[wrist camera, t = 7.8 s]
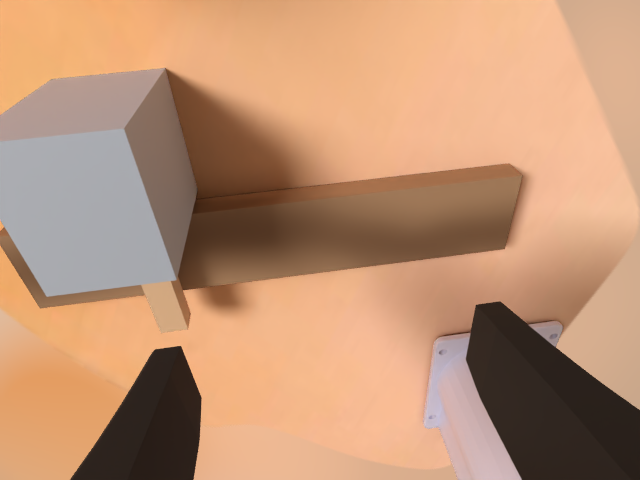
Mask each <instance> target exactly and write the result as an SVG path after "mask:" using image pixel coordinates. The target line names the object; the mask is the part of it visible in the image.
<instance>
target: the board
mask: <svg viewBox="0 0 640 480" xmlns="http://www.w3.org/2000/svg"><path fill="white" fill-rule="evenodd" d="M521 180H522V175H521V174H520V173H519V172H518V171H517V170H516V169H515V168H514V167H512V166H511V165H510V164H501V165H493V166H484V167H475V168H467V169H458V170H449V171H440V172H432V173H423V174H414V175H406V176H397V177H388V178H380V179H371V180H362V181H353V182H345V183H336V184H327V185H319V186H310V187H301V188H293V189H284V190H275V191H266V192H258V193H249V194H240V195H232V196H223V197H214V198H205V199H197V200H195V203H194V208H193V212H192V216H191V221H190V225H189V229H188V234H187V238H186V242H185V247H184V251H183V255H182V260H181V264H180V268H179V273H178V278H179V281H180V284H181V287H182V290H188V289H196V288H204V287H211V286H219V285H227V284H235V283H243V282H251V281H258V280H266V279H274V278H282V277H290V276H298V275H305V274H313V273H321V272H329V271H337V270H345V269H352V268H360V267H368V266H376V265H384V264H392V263H399V262H407V261H415V260H423V259H431V258H438V257H446V256H454V255H462V254H470V253H478V252H485V251H493V250H501V249H505V246H506V242H507V238H508V234H509V230H510V225H511V221H512V217H513V213H514V209H515V205H516V201H517V196H518V192H519V188H520V184H521ZM0 245H1V247H2V249H3V250H4V252H5V253H6V255H7V257H8V258H9V260H10V261H11V263H12V265H13V266H14V268H15V269H16V271H17V272H18V274H19V276H20V277H21V279H22V280H23V282H24V284H25V285H26V287H27V288H28V290H29V292H30V293H31V295H32V296H33V298H34V300H35V301H36V303H37V304H38V306H39V307H40V308H47V307H55V306H63V305H71V304H78V303H86V302H94V301H102V300H110V299H118V298H125V297H133V296H141V295H145V293H144V291H143V289H142V286H141V285H135V286H127V287H120V288H112V289H104V290H96V291H88V292H80V293H72V294H65V295H57V296H49V297H47V296H46V295H45V293H44V291H43V290H42V288H41V286H40V285H39V283H38V281H37V280H36V278H35V277H34V275H33V273H32V272H31V270H30V268H29V267H28V265H27V263H26V262H25V260H24V258H23V257H22V255H21V253H20V252H19V250H18V248H17V247H16V245H15V244H14V242H13V240H12V239H11V237H10V235H9V234H8V232H7V230H6V229H5V227H4V228H3V229H2V230H1V231H0Z"/></svg>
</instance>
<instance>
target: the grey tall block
mask: <svg viewBox="0 0 640 480" xmlns="http://www.w3.org/2000/svg"><path fill="white" fill-rule="evenodd" d="M197 190H198V189H197V185H196V181H195V178H194V174H193V170H192V166H191V163H190V159H189V155H188V151H187V148H186V144H185V140H184V136H183V132H182V129H181V125H180V121H179V117H178V114H177V110H176V106H175V102H174V99H173V95H172V91H171V87H170V83H169V80H168V76H167V72H166V68H162V69H151V70H141V71H131V72H121V73H110V74H100V75H90V76H79V77H69V78H59V79H51V80H50V81H48V82H47V83H45V84H44V85H43V86H41V87H40V88H38V89H37V90H35V91H34V92H33V93H31V94H30V95H28V96H27V97H25V98H24V99H23V100H21V101H20V102H18V103H17V104H15V105H14V106H13V107H11V108H10V109H8V110H7V111H5V112H4V113H2V114H1V115H0V220H1V222H2V224H3V225H4V227H5V229H6V230H7V232H8V234H9V235H10V237H11V239H12V240H13V242H14V244H15V245H16V247H17V248H18V250H19V252H20V253H21V255H22V257H23V258H24V260H25V262H26V263H27V265H28V267H29V268H30V270H31V272H32V273H33V275H34V277H35V278H36V280H37V281H38V283H39V285H40V286H41V288H42V290H43V291H44V293H45V295H46V296H47V297H49V296H57V295H65V294H72V293H80V292H88V291H96V290H104V289H112V288H120V287H127V286H135V285H141V286H142V289H143V291H144V293H145V296H146V298H147V301H148V303H149V305H150V308H151V310H152V313H153V315H154V317H155V320H156V322H157V325H158V327H159V329H160V332H161V333H165V332H173V331H180V330H187V329H188V326H189V321H190V315H191V313H190V310H189V307H188V304H187V301H186V298H185V295H184V293H183V290H182V287H181V284H180V281H179V278H178V273H179V268H180V264H181V260H182V255H183V251H184V247H185V242H186V238H187V234H188V229H189V225H190V221H191V216H192V212H193V208H194V203H195V199H196V195H197Z"/></svg>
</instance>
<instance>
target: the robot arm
mask: <svg viewBox="0 0 640 480" xmlns="http://www.w3.org/2000/svg"><path fill="white" fill-rule="evenodd" d="M562 330H563V326H562V325H561V323H560V322H558V321H550V322H543V323H536V324H527V323H525V322H524V321H523V320H522V319H521V318H519V317H518V316H517V315H516V314H515V313H513V312H512V311H511V310H510V309H509V308H507V307H506V306H505V305H504V304H503V303H501V302H493V303H486V304H479V305H476V308H475V313H474V318H473V323H472V328H471V333H464V334H457V335H450V336H443V337H439V338H437V339H436V340H435V342H434V346H433V353H432V360H431V367H430V374H429V381H428V388H427V395H426V403H425V410H424V417H423V424H424V427H425V428H428V429H430V428H437V427H438V428H439V430H440V433H441V436H442V438H443V441H444V444H445V446H446V449H447V452H448V454H449V457H450V460H451V463H452V465H453V468H454V470H455V473H456V476H457V479H458V480H640V410H639V409H637V408H636V407H634V406H633V405H631V404H630V403H629V402H627V401H626V400H625V399H623V398H622V397H620V396H619V395H617V394H616V393H614V392H613V391H612V390H610V389H609V388H608V387H606V386H605V385H604V384H602V383H601V382H600V381H598V380H597V379H596V378H594V377H593V376H592V375H590V374H589V373H588V372H586V371H585V370H584V369H582V368H581V367H580V366H579V365H577V364H576V363H575V362H573V361H572V360H571V359H570V358H568V357H567V356H566V355H565V354H563V353H562V352H561V351H560V350H558V349H557V348H556V345H557V343H558V340H559V338H560V335H561V333H562ZM200 422H201V395H200V393H199V390H198V388H197V385H196V383H195V380H194V378H193V375H192V373H191V370H190V368H189V365H188V363H187V360H186V358H185V355H184V353H183V350H182V348H181V346H177V347H170V348H163V349H156V350H154V351H153V353H152V354H151V355H150V357H149V359H148V361H147V362H146V364H145V366H144V367H143V369H142V371H141V372H140V374H139V376H138V377H137V379H136V381H135V382H134V384H133V386H132V387H131V389H130V391H129V392H128V394H127V395H126V397H125V399H124V400H123V402H122V404H121V405H120V407H119V408H118V410H117V412H116V413H115V415H114V416H113V418H112V419H111V421H110V422H109V424H108V425H107V427H106V429H105V430H104V431H103V433H102V435H101V436H100V438H99V439H98V441H97V442H96V444H95V445H94V447H93V448H92V449H91V451H90V452H89V454H88V455H87V457H86V458H85V459H84V461H83V462H82V464H81V465H80V466H79V468H78V469H77V471H76V472H75V473H74V475H73V476H72V478H71V480H193V479H194V473H195V466H196V460H197V453H198V447H199V440H200V439H199V438H200Z"/></svg>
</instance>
